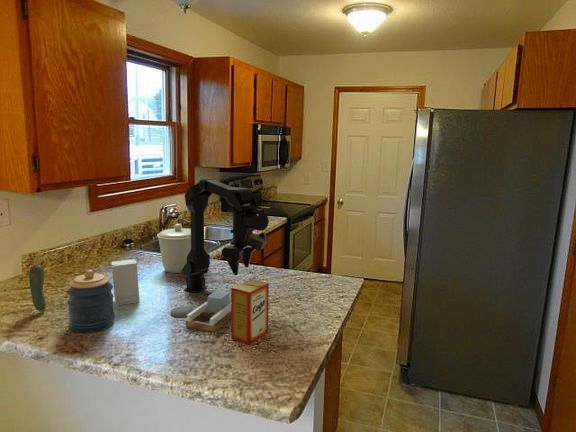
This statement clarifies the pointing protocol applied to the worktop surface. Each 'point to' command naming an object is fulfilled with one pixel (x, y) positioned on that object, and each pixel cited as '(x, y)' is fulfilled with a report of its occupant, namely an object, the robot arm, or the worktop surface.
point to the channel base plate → (207, 321)
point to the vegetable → (37, 284)
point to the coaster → (181, 311)
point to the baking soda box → (249, 311)
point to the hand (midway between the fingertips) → (241, 271)
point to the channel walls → (204, 307)
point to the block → (217, 301)
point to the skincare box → (125, 282)
